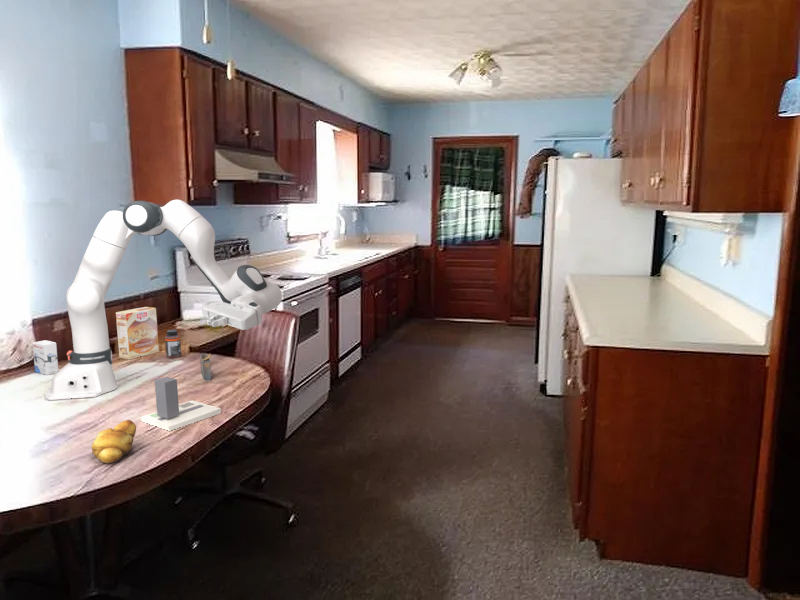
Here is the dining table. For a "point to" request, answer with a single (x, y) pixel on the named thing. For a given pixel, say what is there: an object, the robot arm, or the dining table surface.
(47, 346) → the ink box
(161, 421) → the switch panel
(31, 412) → the dining table surface
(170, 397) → the switch tab
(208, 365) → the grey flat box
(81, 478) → the dining table surface
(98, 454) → the bread roll
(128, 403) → the dining table surface
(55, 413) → the dining table surface
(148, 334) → the coffeecake box
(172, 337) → the supplement bottle
